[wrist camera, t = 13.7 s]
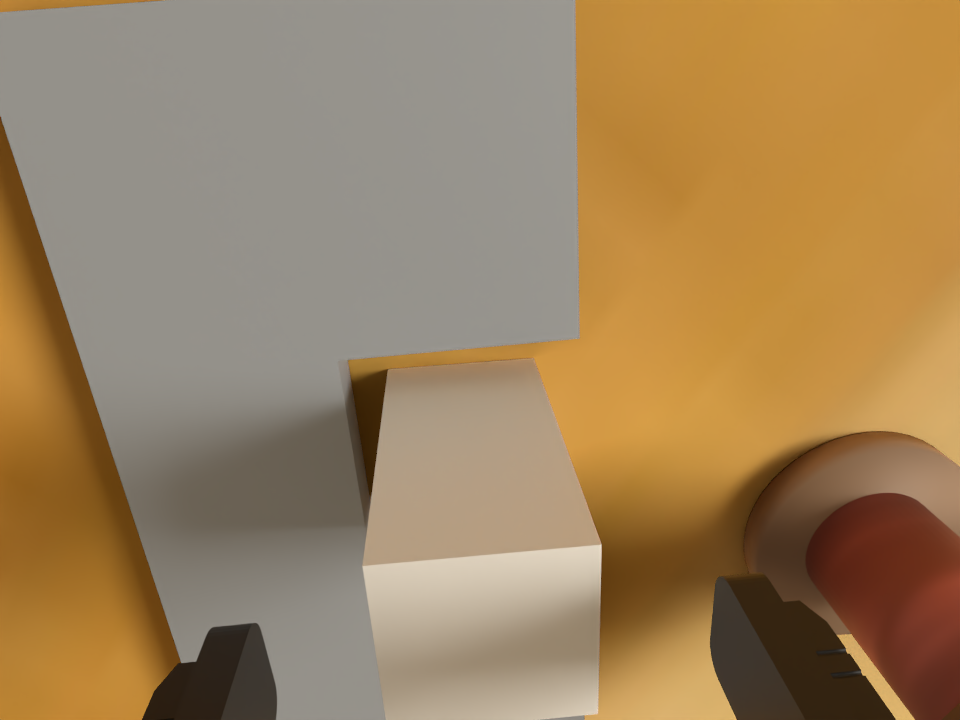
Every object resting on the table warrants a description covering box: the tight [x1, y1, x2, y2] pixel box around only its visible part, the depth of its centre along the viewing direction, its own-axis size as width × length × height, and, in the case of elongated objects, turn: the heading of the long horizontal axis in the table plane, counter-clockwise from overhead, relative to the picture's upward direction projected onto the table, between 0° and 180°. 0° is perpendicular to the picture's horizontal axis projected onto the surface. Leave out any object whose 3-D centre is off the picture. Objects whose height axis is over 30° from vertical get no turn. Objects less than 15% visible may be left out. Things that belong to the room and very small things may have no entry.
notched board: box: [0, 0, 584, 720], centre depth 19 cm, size 22×12×2 cm, turn 4°
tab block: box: [362, 358, 602, 720], centre depth 16 cm, size 4×4×8 cm
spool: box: [744, 432, 960, 720], centre depth 18 cm, size 7×7×9 cm
